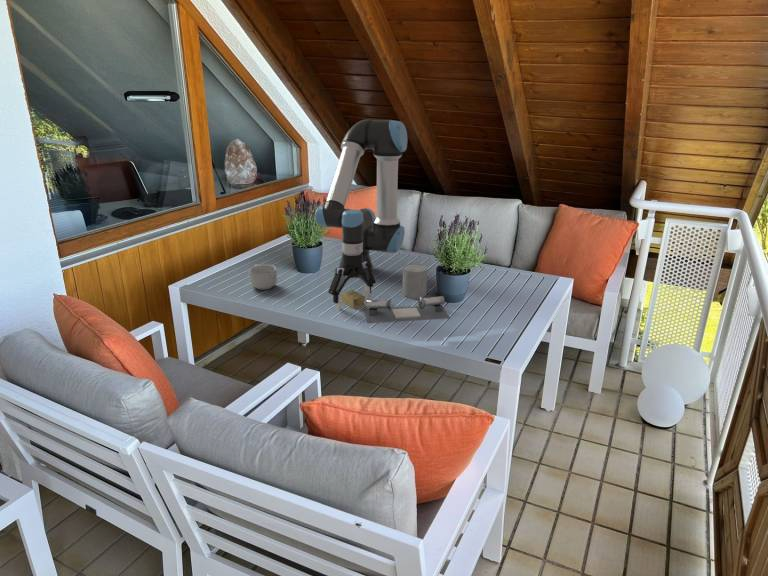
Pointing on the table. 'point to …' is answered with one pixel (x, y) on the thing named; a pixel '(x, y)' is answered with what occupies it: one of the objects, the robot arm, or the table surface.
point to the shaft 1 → (377, 306)
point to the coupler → (353, 299)
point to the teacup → (263, 276)
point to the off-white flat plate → (406, 312)
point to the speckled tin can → (414, 281)
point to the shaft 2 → (432, 303)
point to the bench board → (389, 316)
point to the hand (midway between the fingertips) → (352, 306)
